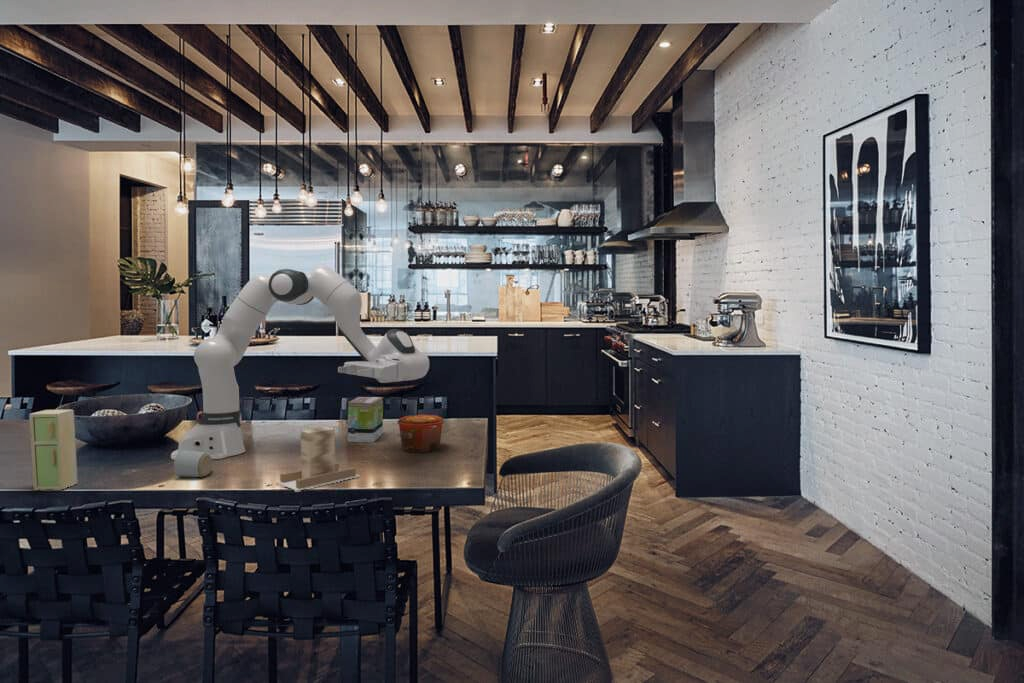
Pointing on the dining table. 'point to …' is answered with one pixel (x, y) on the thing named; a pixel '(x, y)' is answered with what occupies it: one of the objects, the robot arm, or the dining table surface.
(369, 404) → the tea box
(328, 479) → the track
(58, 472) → the toy refrigerator
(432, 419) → the food container
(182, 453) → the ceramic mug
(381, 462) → the dining table surface
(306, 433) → the wooden block
